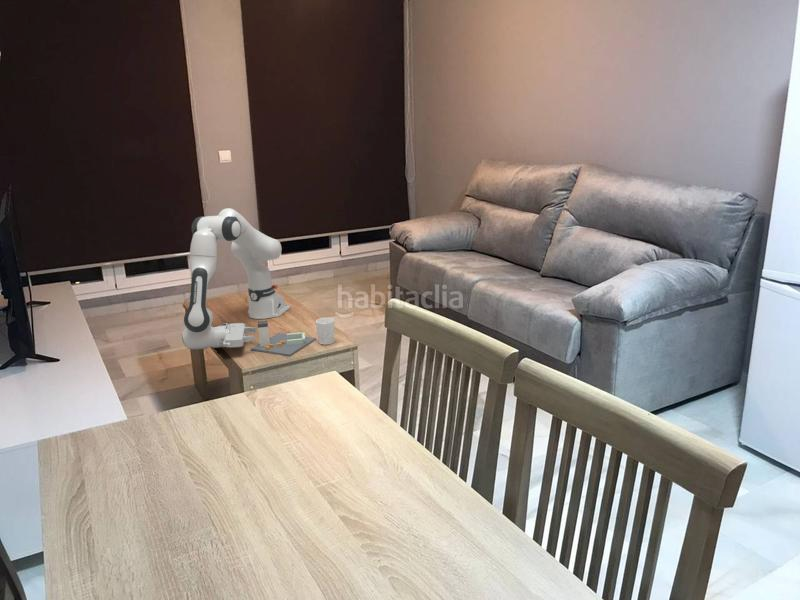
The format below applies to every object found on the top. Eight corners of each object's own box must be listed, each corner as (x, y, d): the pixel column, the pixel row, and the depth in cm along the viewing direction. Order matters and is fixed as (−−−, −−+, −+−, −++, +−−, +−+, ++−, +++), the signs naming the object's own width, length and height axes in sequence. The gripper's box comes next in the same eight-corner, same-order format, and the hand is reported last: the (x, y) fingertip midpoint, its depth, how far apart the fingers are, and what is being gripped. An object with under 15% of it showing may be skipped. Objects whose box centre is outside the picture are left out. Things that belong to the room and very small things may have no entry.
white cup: (325, 337, 289) (324, 316, 286) (339, 340, 284) (337, 319, 281) (313, 343, 283) (311, 321, 280) (327, 346, 278) (325, 324, 275)
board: (278, 334, 295) (278, 330, 295) (316, 339, 287) (315, 335, 286) (251, 350, 278) (250, 345, 278) (290, 356, 270) (289, 351, 269)
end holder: (287, 345, 280) (287, 340, 279) (287, 338, 288) (286, 333, 288) (305, 343, 281) (305, 339, 280) (304, 336, 289) (304, 332, 289)
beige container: (260, 343, 284) (257, 321, 280) (270, 342, 284) (267, 320, 281) (260, 346, 280) (257, 324, 277) (269, 345, 280) (267, 323, 277)
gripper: (219, 338, 267) (253, 334, 269) (223, 321, 286) (255, 318, 288) (221, 352, 269) (255, 349, 271) (225, 335, 288) (257, 332, 290)
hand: (255, 333), depth 280 cm, fingers open, 8 cm apart
